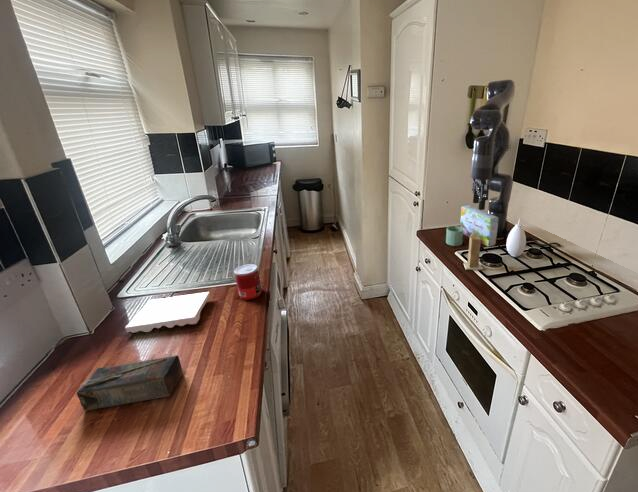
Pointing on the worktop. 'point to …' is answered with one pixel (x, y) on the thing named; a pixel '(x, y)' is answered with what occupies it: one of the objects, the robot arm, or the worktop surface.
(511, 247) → the white teardrop shape
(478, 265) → the board
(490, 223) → the snack box
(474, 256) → the peg
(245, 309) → the worktop surface
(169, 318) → the food packaging
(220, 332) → the worktop surface
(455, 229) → the pot
